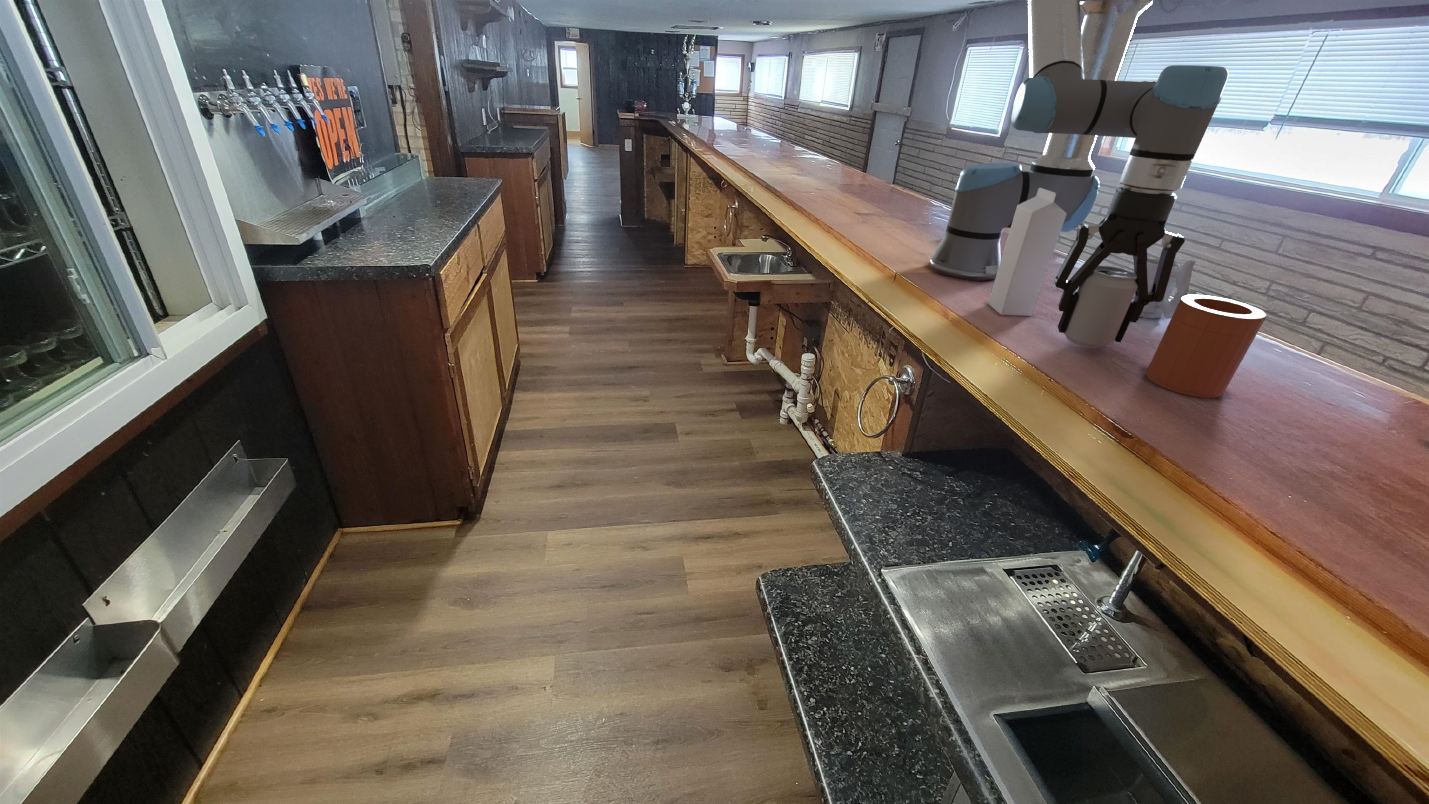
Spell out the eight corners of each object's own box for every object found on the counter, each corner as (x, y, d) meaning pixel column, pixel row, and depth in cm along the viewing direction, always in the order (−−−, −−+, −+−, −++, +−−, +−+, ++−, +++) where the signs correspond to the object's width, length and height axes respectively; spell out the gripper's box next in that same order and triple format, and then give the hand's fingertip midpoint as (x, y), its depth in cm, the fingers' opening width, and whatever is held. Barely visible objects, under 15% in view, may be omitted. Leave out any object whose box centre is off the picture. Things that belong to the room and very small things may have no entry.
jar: (1139, 364, 89) (1173, 290, 83) (1210, 376, 86) (1250, 301, 80) (1154, 389, 81) (1192, 310, 75) (1232, 403, 78) (1279, 323, 72)
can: (1068, 328, 98) (1095, 260, 92) (1117, 341, 94) (1148, 271, 88) (1054, 339, 94) (1080, 268, 88) (1104, 354, 89) (1136, 281, 83)
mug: (1143, 305, 114) (1169, 246, 108) (1190, 327, 104) (1221, 264, 98) (1108, 305, 114) (1132, 245, 108) (1151, 327, 104) (1181, 263, 98)
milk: (1000, 315, 106) (1038, 192, 95) (987, 304, 111) (1021, 186, 100) (1032, 316, 106) (1073, 194, 95) (1017, 305, 111) (1055, 187, 100)
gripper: (1072, 185, 82) (1022, 331, 93) (1242, 201, 75) (1166, 355, 87) (1066, 178, 88) (1020, 315, 99) (1223, 192, 81) (1154, 337, 93)
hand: (1088, 334), depth 93 cm, fingers closed on can, 7 cm apart
